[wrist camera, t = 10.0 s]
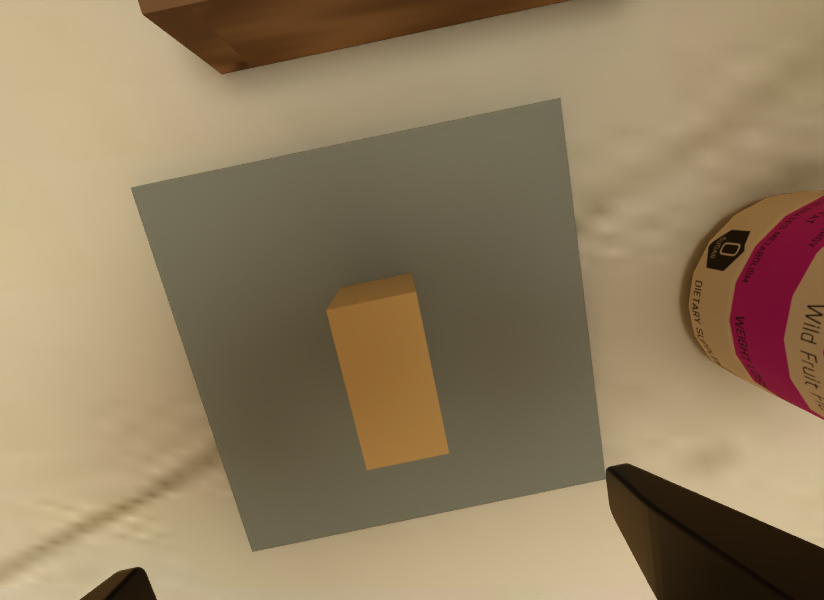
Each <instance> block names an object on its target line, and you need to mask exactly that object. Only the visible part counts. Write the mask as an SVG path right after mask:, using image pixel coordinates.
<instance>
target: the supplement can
mask: <svg viewBox="0 0 824 600" xmlns="http://www.w3.org/2000/svg"><path fill="white" fill-rule="evenodd" d="M688 307H689V312H690V316H691V321H692V326H693V331H694V335H695V337H696V339H697V340H698V342H699V343H700V345H701V346H702V348H703V349H704V350H705V352H706V353H707V355H708V356H709V358H710V359H711V360H712V361H713V362H715V363H717V364H718V365H720V366H721V367H723V368H725V369H726V370H728V371H729V372H731V373H733V374H734V375H736V376H738V377H740V378H742V379H744V380H746V381H748V382H750V383H752V384H754V385H756V386H758V387H760V388H762V389H764V390H766V391H768V392H770V393H772V394H774V395H776V396H778V397H780V398H782V399H784V400H786V401H788V402H790V403H791V404H793V405H795V406H797V407H799V408H801V409H803V410H805V411H807V412H809V413H811V414H813V415H815V416H817V417H819V418H821V419H823V420H824V191H802V192H796V193H789V194H783V195H777V196H771V197H767V198H765V199H763V200H761V201H760V202H758V203H756V204H754V205H752V206H750V207H748V208H747V209H745V210H743V211H741V212H739V213H737V214H735V216H734V217H733V218H732V219H731V220H730V221H729V222H728V223H727V224H726V225H725V226H724V227H723V228H722V229H721V230H720V231H719V232H718V233H717V234H716V235H715V236H714V237H713V238H712V239H711V240H710V241H709V243H708V245H707V247H706V249H705V251H704V253H703V255H702V257H701V259H700V261H699V263H698V265H697V267H696V269H695V271H694V273H693V278H692V285H691V292H690V298H689V305H688Z"/></svg>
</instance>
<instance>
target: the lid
mask: <svg viewBox="0 0 824 600" xmlns="http://www.w3.org/2000/svg"><path fill="white" fill-rule="evenodd" d="M131 190H132V193H133V196H134V199H135V202H136V205H137V208H138V211H139V214H140V217H141V220H142V223H143V226H144V229H145V232H146V235H147V238H148V241H149V244H150V247H151V250H152V253H153V256H154V259H155V262H156V265H157V268H158V271H159V274H160V277H161V280H162V283H163V286H164V289H165V292H166V295H167V298H168V301H169V304H170V307H171V310H172V313H173V316H174V319H175V322H176V325H177V328H178V331H179V334H180V337H181V340H182V342H183V345H184V348H185V351H186V354H187V357H188V360H189V363H190V366H191V369H192V372H193V375H194V378H195V381H196V384H197V387H198V390H199V393H200V396H201V399H202V402H203V405H204V408H205V411H206V414H207V417H208V420H209V423H210V426H211V429H212V432H213V435H214V438H215V441H216V444H217V447H218V450H219V453H220V456H221V459H222V462H223V465H224V468H225V471H226V474H227V477H228V480H229V483H230V486H231V489H232V492H233V495H234V498H235V501H236V504H237V507H238V510H239V513H240V516H241V519H242V522H243V525H244V528H245V531H246V534H247V537H248V540H249V543H250V546H251V549H252V552H253V551H258V550H263V549H268V548H273V547H278V546H283V545H287V544H292V543H297V542H302V541H307V540H312V539H317V538H322V537H326V536H331V535H336V534H341V533H346V532H351V531H356V530H360V529H365V528H370V527H375V526H380V525H385V524H390V523H395V522H399V521H404V520H409V519H414V518H419V517H424V516H429V515H434V514H438V513H443V512H448V511H453V510H458V509H463V508H468V507H473V506H477V505H482V504H487V503H492V502H497V501H502V500H507V499H511V498H516V497H521V496H526V495H531V494H536V493H541V492H546V491H550V490H555V489H560V488H565V487H570V486H575V485H580V484H585V483H589V482H594V481H599V480H604V479H606V478H605V469H604V461H603V452H602V444H601V436H600V427H599V419H598V410H597V402H596V394H595V385H594V377H593V368H592V360H591V352H590V343H589V335H588V327H587V318H586V310H585V301H584V293H583V285H582V276H581V268H580V259H579V251H578V243H577V234H576V226H575V217H574V209H573V201H572V192H571V184H570V175H569V167H568V159H567V150H566V142H565V133H564V125H563V117H562V108H561V100H560V98H558V99H553V100H548V101H544V102H539V103H534V104H529V105H524V106H520V107H515V108H510V109H505V110H501V111H496V112H491V113H486V114H481V115H477V116H472V117H467V118H462V119H457V120H453V121H448V122H443V123H438V124H434V125H429V126H424V127H419V128H414V129H410V130H405V131H400V132H395V133H390V134H386V135H381V136H376V137H371V138H367V139H362V140H357V141H352V142H347V143H343V144H338V145H333V146H328V147H323V148H319V149H314V150H309V151H304V152H300V153H295V154H290V155H285V156H280V157H276V158H271V159H266V160H261V161H257V162H252V163H247V164H242V165H237V166H233V167H228V168H223V169H218V170H213V171H209V172H204V173H199V174H194V175H190V176H185V177H180V178H175V179H170V180H166V181H161V182H156V183H151V184H146V185H142V186H137V187H132V188H131Z"/></svg>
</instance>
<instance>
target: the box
mask: <svg viewBox="0 0 824 600" xmlns="http://www.w3.org/2000/svg"><path fill="white" fill-rule="evenodd" d="M562 1H567V0H138V2H139V5H140V8H141V11H142V14H143V15H144V16H145V17H147V18H148V19H149V20H151V21H152V22H153V23H155V24H156V25H157V26H159V27H160V28H161V29H163V30H164V31H165V32H167V33H168V34H169V35H171V36H172V37H173V38H175V39H176V40H177V41H179V42H180V43H181V44H183V45H184V46H185V47H186V48H188V49H189V50H190V51H192V52H193V53H194V54H196V55H197V56H198V57H200V58H201V59H202V60H204V61H205V62H206V63H208V64H209V65H210V66H212V67H213V68H214V69H216V70H217V71H218V72H220V73H221V74H224V73H229V72H233V71H238V70H243V69H247V68H252V67H257V66H261V65H266V64H271V63H276V62H280V61H285V60H290V59H294V58H299V57H304V56H308V55H313V54H318V53H323V52H327V51H332V50H337V49H341V48H346V47H351V46H355V45H360V44H365V43H370V42H374V41H379V40H384V39H388V38H393V37H398V36H402V35H407V34H412V33H417V32H421V31H426V30H431V29H435V28H440V27H445V26H450V25H454V24H459V23H464V22H468V21H473V20H478V19H482V18H487V17H492V16H497V15H501V14H506V13H511V12H515V11H520V10H525V9H529V8H534V7H539V6H544V5H548V4H553V3H558V2H562Z"/></svg>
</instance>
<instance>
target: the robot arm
mask: <svg viewBox="0 0 824 600" xmlns="http://www.w3.org/2000/svg"><path fill="white" fill-rule="evenodd" d="M606 482H607V490H608V498H609V505H610V509H611V512H612V515H613V517H614V519H615V521H616V523H617V525H618V527H619V529H620V531H621V533H622V535H623V536H624V538H625V540H626V542H627V544H628V546H629V548H630V550H631V552H632V553H633V555H634V557H635V559H636V561H637V563H638V565H639V567H640V569H641V570H642V572H643V574H644V576H645V578H646V580H647V582H648V584H649V585H650V587H651V589H652V591H653V593H654V594H655V596H656V598H657V600H824V548H821V547H819V546H817V545H815V544H812V543H810V542H808V541H805V540H803V539H801V538H798V537H796V536H794V535H792V534H789V533H787V532H785V531H782V530H780V529H778V528H776V527H773V526H771V525H769V524H766V523H764V522H762V521H759V520H757V519H755V518H753V517H750V516H748V515H746V514H743V513H741V512H739V511H737V510H734V509H732V508H730V507H727V506H725V505H723V504H720V503H718V502H716V501H714V500H711V499H709V498H707V497H704V496H702V495H700V494H698V493H695V492H693V491H691V490H688V489H686V488H684V487H681V486H679V485H677V484H675V483H672V482H670V481H668V480H665V479H663V478H661V477H659V476H656V475H654V474H652V473H649V472H647V471H645V470H642V469H640V468H638V467H636V466H633V465H631V464H628V463H625V464H620V465H615V466H610V467H608V468H607V469H606ZM80 600H157V599H156V596H155V594H154V591H153V589H152V586H151V584H150V581H149V579H148V576H147V574H146V572H145V570H144V569H142V568H140V567H135V568H130V569H126V570H121V571H118V572H116V573H115V574H113V575H112V576H111V577H109V578H108V579H107V580H105V581H104V582H103V583H101V584H100V585H99V586H97V587H96V588H95V589H93V590H92V591H91V592H89V593H88V594H87V595H85V596H84V597H83V598H81V599H80Z"/></svg>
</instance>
